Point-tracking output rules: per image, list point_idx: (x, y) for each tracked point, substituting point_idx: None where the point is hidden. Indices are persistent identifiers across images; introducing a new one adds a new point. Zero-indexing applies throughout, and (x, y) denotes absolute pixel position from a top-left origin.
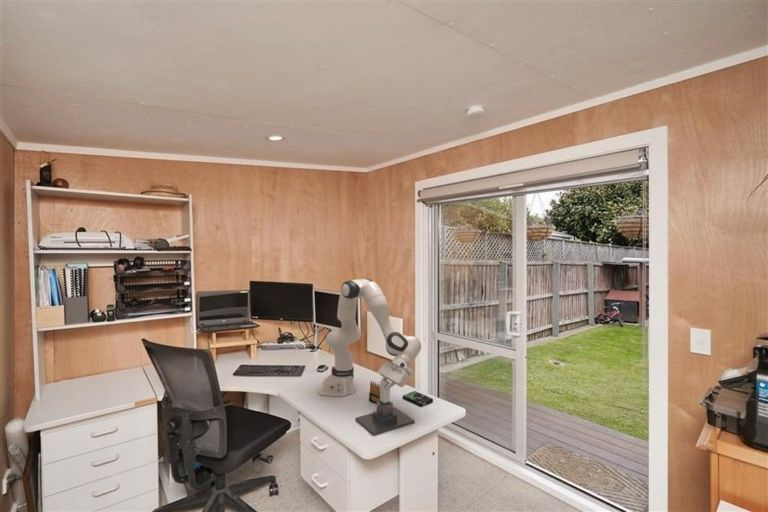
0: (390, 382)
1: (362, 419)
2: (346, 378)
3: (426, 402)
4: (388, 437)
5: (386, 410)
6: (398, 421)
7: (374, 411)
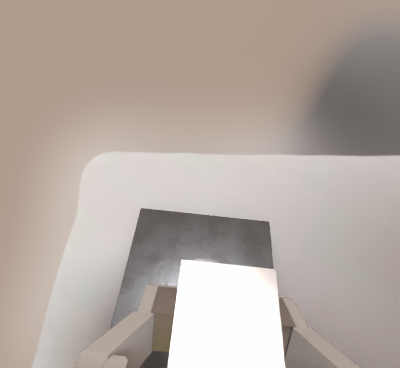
0: (114, 355)
1: (244, 233)
2: None
3: None
4: (98, 246)
5: None
6: None
7: None
